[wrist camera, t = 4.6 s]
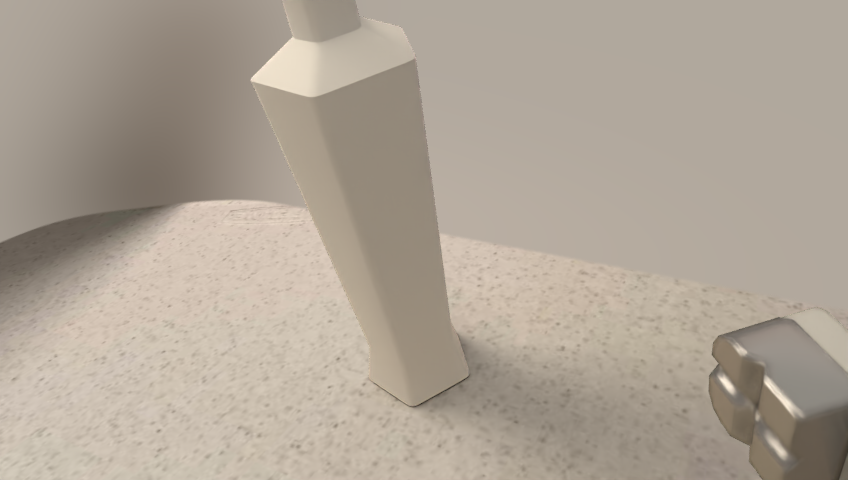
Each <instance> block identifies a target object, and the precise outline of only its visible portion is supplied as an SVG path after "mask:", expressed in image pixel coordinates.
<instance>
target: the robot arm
mask: <svg viewBox="0 0 848 480" xmlns="http://www.w3.org/2000/svg"><path fill="white" fill-rule="evenodd" d="M712 356H713V357H714V358H715V359H716V361H717V362H718V363H719V364H718V365H717V367H716V368H715V369H714V370H713V371H712V373H711V374H710V375H709V395H710V398H711V402H712V405H713V409H714V411H715V413H716V414H717V416H718V418H719V420H720V422H721V424H722V425H723V426H724V428H725V429H726V431H727V432H728V433H729V435H730V436H731V437H733V438H735V439H737V440H739V441H741V442H743V443H745V444H747V445H749V446H750V450H749V462H750V464H751V465H752V466H753V468H754V469H755V470H756V472H757V473H758V474H759V476H760V477H761V478H762V480H848V329H846V328H845V327H844V326H843V325H842V324H841V323H840V322H839V321H838V320H836V319H835V318H834V317H833V316H832V315H831V314H830V313H829V312H827V311H826V310H823V309H821V308H818V307H815V308H811V309H808V310H804V311H801V312H798V313H794V314H791V315H788V316H784V317H782V318H780V317H778V318H775V319H771V320H768V321H765V322H762V323H758V324H755V325H752V326H749V327H745V328H742V329H739V330H736V331H732V332H729V333H726V334H723V335H719V336H718V337H717V338H716V339H715V341H714V342H713V348H712Z"/></svg>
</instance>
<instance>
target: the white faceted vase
mask: <svg viewBox="0 0 848 480" xmlns="http://www.w3.org/2000/svg"><path fill="white" fill-rule="evenodd" d="M282 3H283V7H284V10H285V13H286V16H287V20H288V23H289V26H290V29H291V33H292V36H293V37H292V38H291V39H290V40H289V41H288V42H287V43H286V44H285V45H284V46H283V47H282V48H281V49H280V50H279V51H278V52H277V53H276V54H275V55H274V56H273V57H272V58H271V59H270V60H269V61H268V62H267V63H266V64H265V65H264V66H263V67H262V68H261V69H260V70H259V71H258V72H257V73H256V74H255V75H254V76H253V77H252V78H251V82H252V84H253V86H254V89H255V91H256V93H257V95H258V98H259V100H260V102H261V104H262V107H263V109H264V111H265V113H266V116H267V118H268V120H269V122H270V125H271V127H272V129H273V131H274V134H275V136H276V138H277V140H278V143H279V145H280V147H281V149H282V152H283V154H284V156H285V158H286V160H287V163H288V165H289V167H290V169H291V172H292V174H293V176H294V178H295V181H296V183H297V185H298V187H299V190H300V192H301V194H302V196H303V199H304V201H305V203H306V205H307V208H308V210H309V212H310V214H311V217H312V219H313V221H314V223H315V226H316V228H317V230H318V232H319V235H320V237H321V239H322V241H323V244H324V246H325V248H326V250H327V253H328V255H329V257H330V259H331V262H332V264H333V266H334V268H335V271H336V273H337V275H338V277H339V280H340V282H341V284H342V286H343V288H344V291H345V293H346V295H347V297H348V300H349V302H350V304H351V306H352V309H353V311H354V313H355V315H356V318H357V320H358V322H359V324H360V327H361V329H362V331H363V333H364V336H365V338H366V340H367V342H368V345H369V379H370V380H371V381H372V382H374V383H375V384H377V385H378V386H380V387H381V388H383V389H384V390H386V391H387V392H389V393H390V394H392V395H393V396H395V397H396V398H398V399H399V400H401V401H402V402H404V403H405V404H407V405H409V406H416V405H419V404H420V403H422V402H424V401H426V400H428V399H429V398H431V397H433V396H435V395H437V394H438V393H440V392H442V391H444V390H446V389H447V388H449V387H451V386H453V385H455V384H456V383H458V382H460V381H462V380H463V379H465V378H466V377H468V375H469V368H468V365H467V362H466V359H465V356H464V353H463V350H462V346H461V343H460V340H459V337H458V334H457V333H456V331H455V329H454V327H453V326H452V324H451V321H450V313H449V306H448V298H447V290H446V283H445V275H444V268H443V260H442V253H441V245H440V237H439V230H438V222H437V215H436V208H435V199H434V192H433V185H432V177H431V169H430V162H429V154H428V147H427V139H426V131H425V124H424V116H423V109H422V101H421V93H420V86H419V79H418V71H417V63H416V55H415V53H414V51H413V49H412V47H411V45H410V43H409V41H408V39H407V37H406V35H405V33H404V31H403V29H402V27H400V26H397V25H393V24H389V23H385V22H380V21H377V20H372V19H368V18H364V17H360V16H359V13H358V9H357V5H356V1H355V0H282Z"/></svg>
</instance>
